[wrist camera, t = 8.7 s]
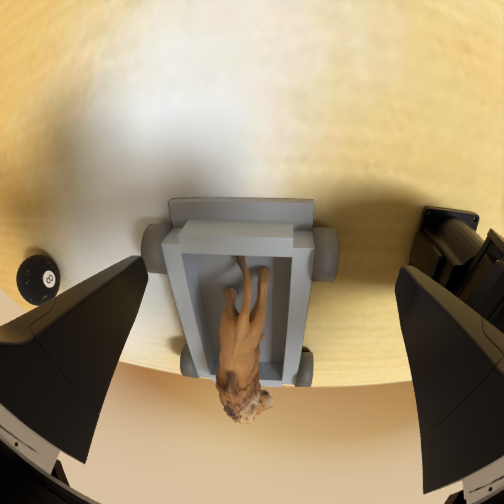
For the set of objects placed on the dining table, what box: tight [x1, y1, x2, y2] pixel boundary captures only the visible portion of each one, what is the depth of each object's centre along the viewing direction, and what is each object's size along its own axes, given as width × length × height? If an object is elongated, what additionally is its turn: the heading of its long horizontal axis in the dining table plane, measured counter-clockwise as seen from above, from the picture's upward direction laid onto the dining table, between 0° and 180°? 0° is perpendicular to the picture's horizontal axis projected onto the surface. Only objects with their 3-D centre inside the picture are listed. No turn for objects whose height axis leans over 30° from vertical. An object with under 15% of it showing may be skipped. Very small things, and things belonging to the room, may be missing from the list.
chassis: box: [141, 198, 339, 387], centre depth 24 cm, size 14×22×4 cm, turn 2°
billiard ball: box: [16, 255, 60, 306], centre depth 25 cm, size 6×6×6 cm
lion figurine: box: [216, 255, 274, 424], centre depth 22 cm, size 15×5×9 cm, turn 6°
